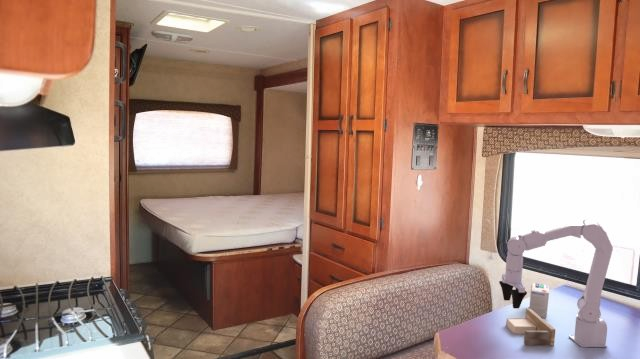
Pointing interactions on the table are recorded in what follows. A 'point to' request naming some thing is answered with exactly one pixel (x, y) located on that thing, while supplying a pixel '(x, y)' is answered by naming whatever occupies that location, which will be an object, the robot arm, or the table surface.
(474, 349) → the table surface
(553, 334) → the shelf
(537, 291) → the light bulb box
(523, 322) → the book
